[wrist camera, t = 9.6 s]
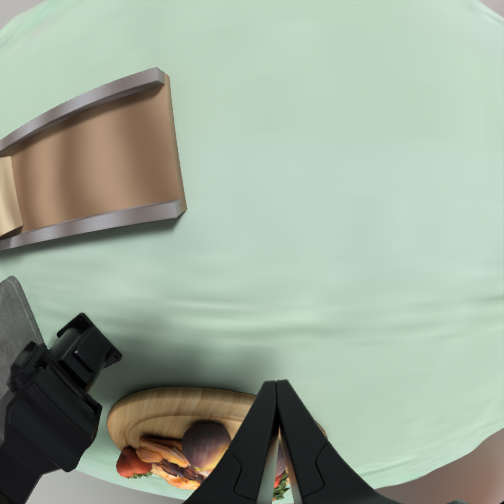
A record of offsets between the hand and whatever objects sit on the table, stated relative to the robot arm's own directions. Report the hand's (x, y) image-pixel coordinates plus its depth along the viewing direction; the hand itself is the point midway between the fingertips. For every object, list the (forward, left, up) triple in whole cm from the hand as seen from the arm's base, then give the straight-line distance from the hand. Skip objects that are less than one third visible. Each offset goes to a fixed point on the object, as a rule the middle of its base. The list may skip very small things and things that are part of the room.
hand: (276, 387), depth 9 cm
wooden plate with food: (-22, -22, -14) cm, 34 cm away
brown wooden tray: (-14, +18, -13) cm, 26 cm away
